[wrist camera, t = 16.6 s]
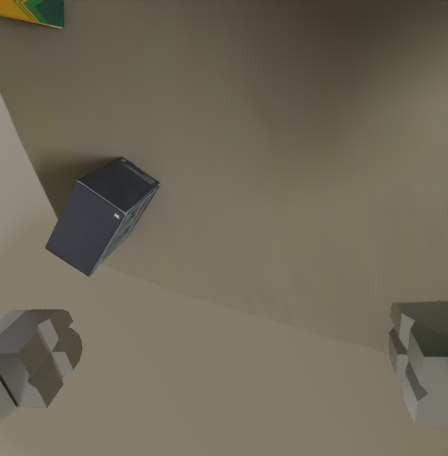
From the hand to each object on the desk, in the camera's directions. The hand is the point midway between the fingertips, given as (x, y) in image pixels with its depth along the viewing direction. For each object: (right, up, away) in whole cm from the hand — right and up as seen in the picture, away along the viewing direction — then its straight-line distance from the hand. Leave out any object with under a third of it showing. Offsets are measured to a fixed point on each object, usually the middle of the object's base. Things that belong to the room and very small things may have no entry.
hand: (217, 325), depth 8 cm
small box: (-14, +7, +37) cm, 39 cm away
